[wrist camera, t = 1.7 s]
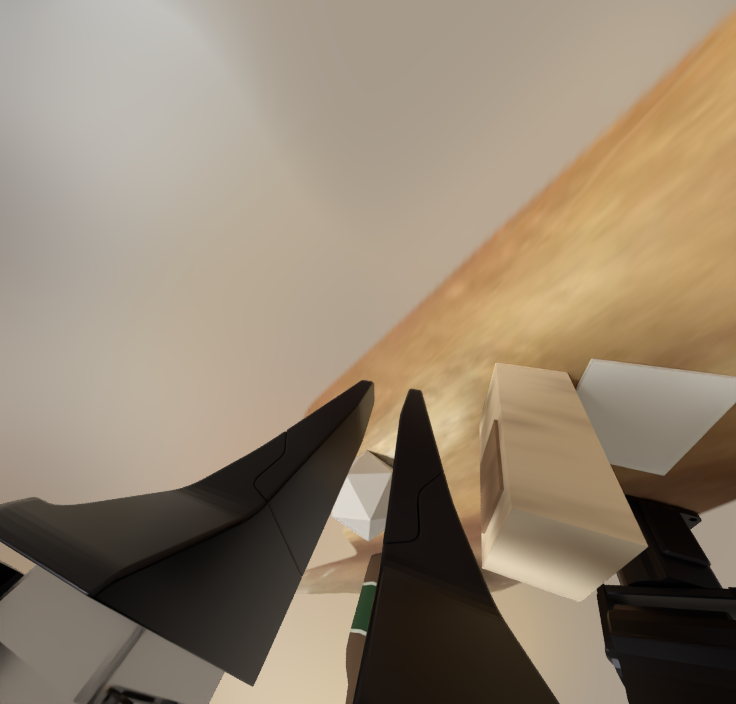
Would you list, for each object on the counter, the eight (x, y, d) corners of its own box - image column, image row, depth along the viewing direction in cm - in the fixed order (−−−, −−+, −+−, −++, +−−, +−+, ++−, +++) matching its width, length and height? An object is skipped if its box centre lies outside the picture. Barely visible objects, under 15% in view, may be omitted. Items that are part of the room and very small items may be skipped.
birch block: (538, 433, 24) (579, 602, 15) (477, 421, 25) (478, 566, 16) (567, 372, 20) (648, 546, 11) (493, 361, 22) (507, 506, 12)
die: (336, 452, 37) (334, 534, 33) (332, 448, 29) (328, 554, 26) (394, 451, 38) (398, 532, 34) (405, 447, 30) (412, 551, 26)
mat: (662, 472, 22) (663, 475, 22) (545, 447, 24) (546, 450, 24) (752, 378, 17) (756, 381, 16) (591, 358, 19) (592, 360, 19)
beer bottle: (367, 560, 53) (308, 772, 34) (375, 547, 49) (311, 784, 30) (404, 578, 52) (364, 808, 33) (415, 566, 48) (376, 825, 29)
